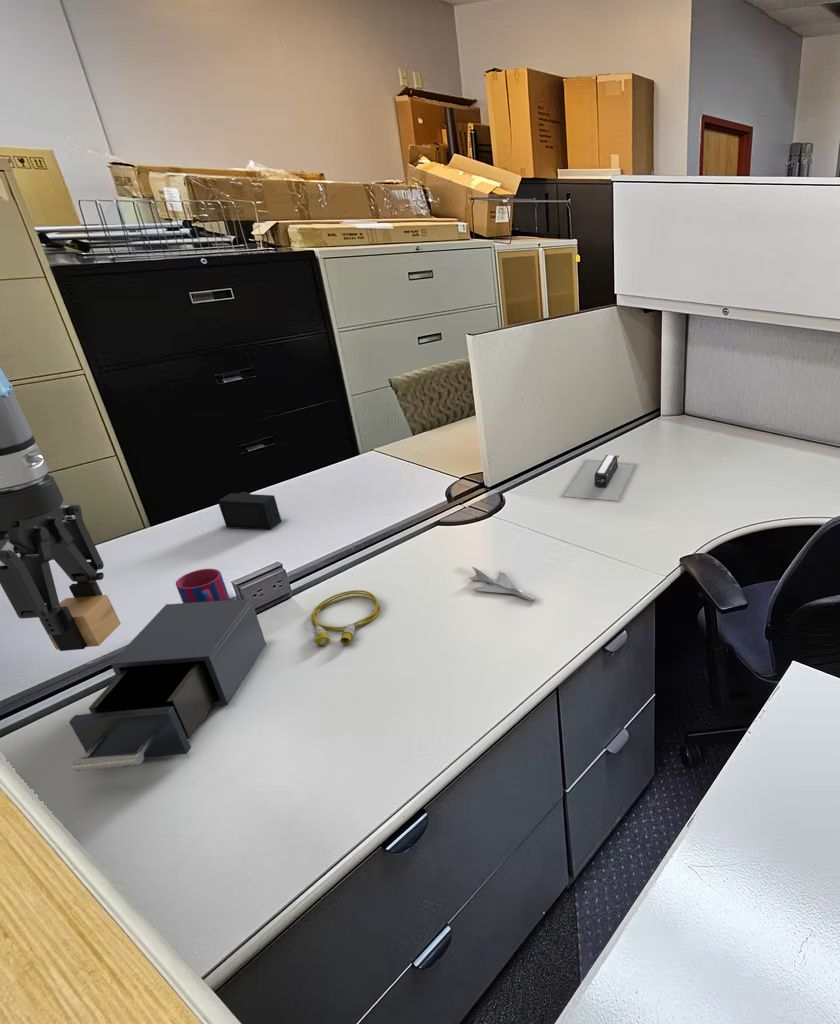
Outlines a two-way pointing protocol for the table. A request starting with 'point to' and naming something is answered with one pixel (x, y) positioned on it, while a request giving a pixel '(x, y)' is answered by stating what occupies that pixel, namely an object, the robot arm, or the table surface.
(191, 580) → the mug
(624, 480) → the bus
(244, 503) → the digital camera
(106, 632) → the block
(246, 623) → the cabinet
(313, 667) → the table surface
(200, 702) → the drawer
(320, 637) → the extension cord
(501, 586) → the toy airplane
